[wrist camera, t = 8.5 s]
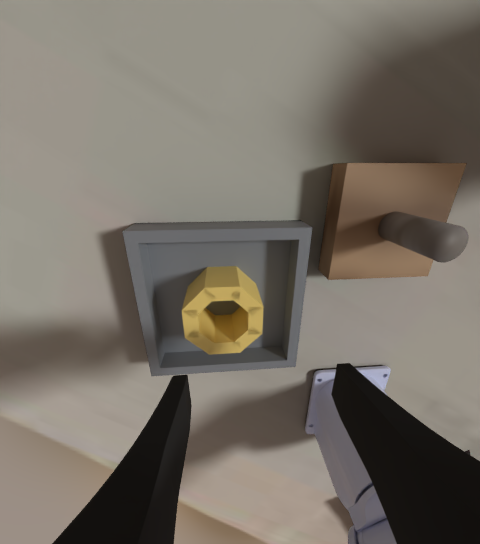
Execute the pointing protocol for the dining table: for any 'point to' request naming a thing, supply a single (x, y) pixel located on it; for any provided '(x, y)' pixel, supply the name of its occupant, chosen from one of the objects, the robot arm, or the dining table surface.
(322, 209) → the dining table surface
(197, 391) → the dining table surface
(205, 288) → the ring
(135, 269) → the tray
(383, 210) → the block
